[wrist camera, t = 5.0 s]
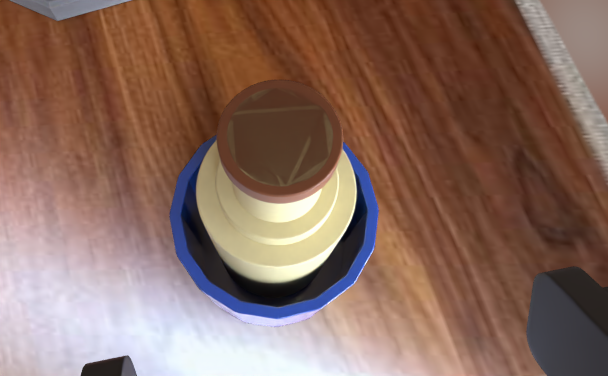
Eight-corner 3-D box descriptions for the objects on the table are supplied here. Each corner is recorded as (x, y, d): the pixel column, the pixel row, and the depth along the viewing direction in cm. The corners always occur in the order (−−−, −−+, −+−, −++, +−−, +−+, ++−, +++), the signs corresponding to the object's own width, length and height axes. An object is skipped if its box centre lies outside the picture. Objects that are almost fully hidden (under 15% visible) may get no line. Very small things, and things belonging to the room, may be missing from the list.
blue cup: (339, 337, 30) (365, 333, 22) (179, 312, 29) (149, 299, 22) (358, 185, 32) (387, 134, 25) (212, 161, 32) (195, 102, 25)
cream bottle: (318, 305, 30) (373, 256, 14) (210, 288, 29) (150, 220, 14) (332, 202, 31) (395, 61, 16) (231, 186, 31) (197, 27, 16)
